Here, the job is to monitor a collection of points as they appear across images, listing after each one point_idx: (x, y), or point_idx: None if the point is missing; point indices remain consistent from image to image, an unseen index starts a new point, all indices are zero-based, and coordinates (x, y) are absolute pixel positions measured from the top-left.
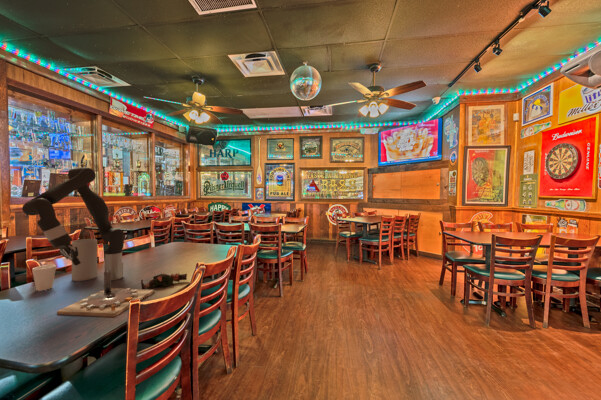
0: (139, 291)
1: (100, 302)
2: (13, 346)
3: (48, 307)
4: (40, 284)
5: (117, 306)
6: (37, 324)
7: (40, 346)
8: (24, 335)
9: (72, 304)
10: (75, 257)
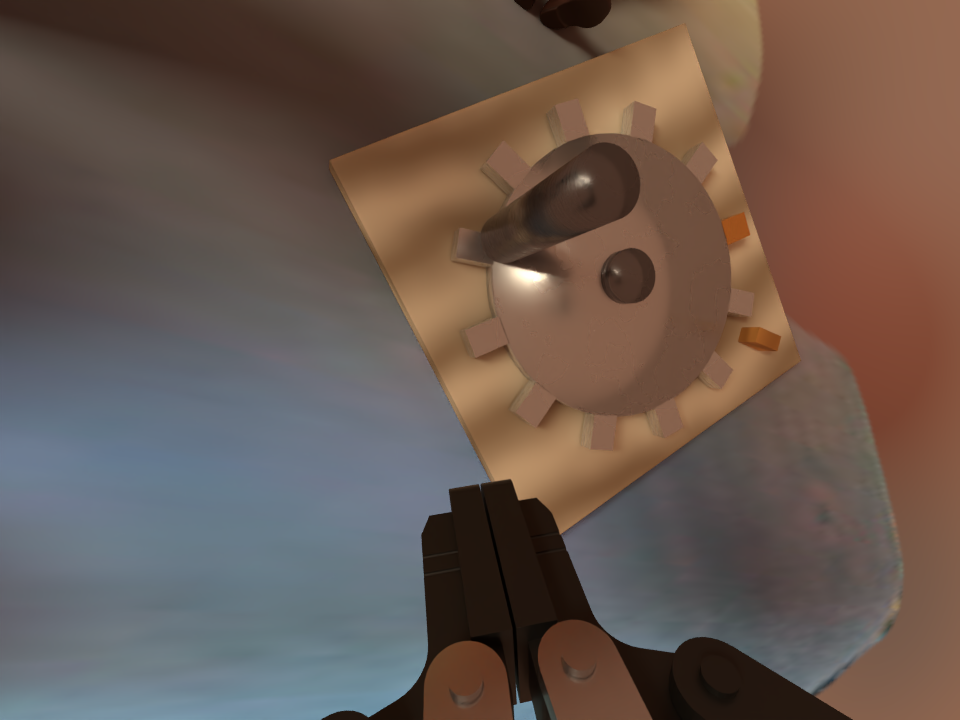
0: (633, 94)
1: (667, 361)
2: None
3: (339, 571)
4: None
5: None
6: None
7: (793, 623)
8: None
9: (495, 467)
10: (631, 668)
